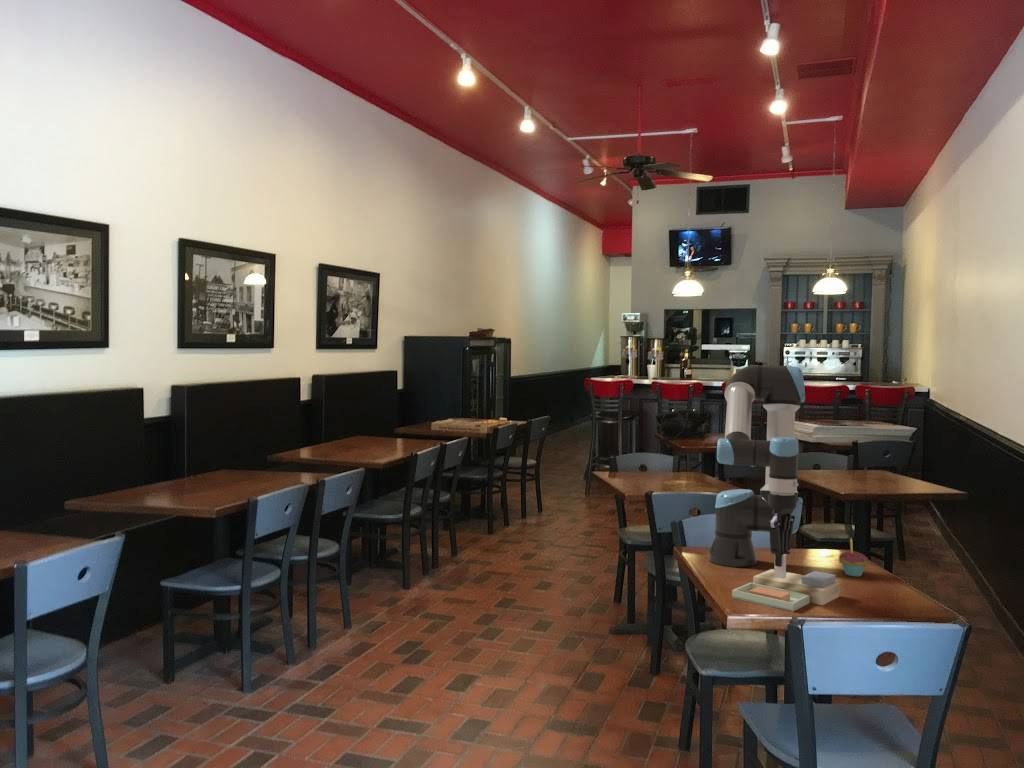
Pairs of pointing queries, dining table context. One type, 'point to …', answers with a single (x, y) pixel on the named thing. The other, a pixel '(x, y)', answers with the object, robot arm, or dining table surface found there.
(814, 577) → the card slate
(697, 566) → the dining table surface
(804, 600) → the tray
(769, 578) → the beige flat box
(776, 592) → the orange flat block
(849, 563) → the cupcake
